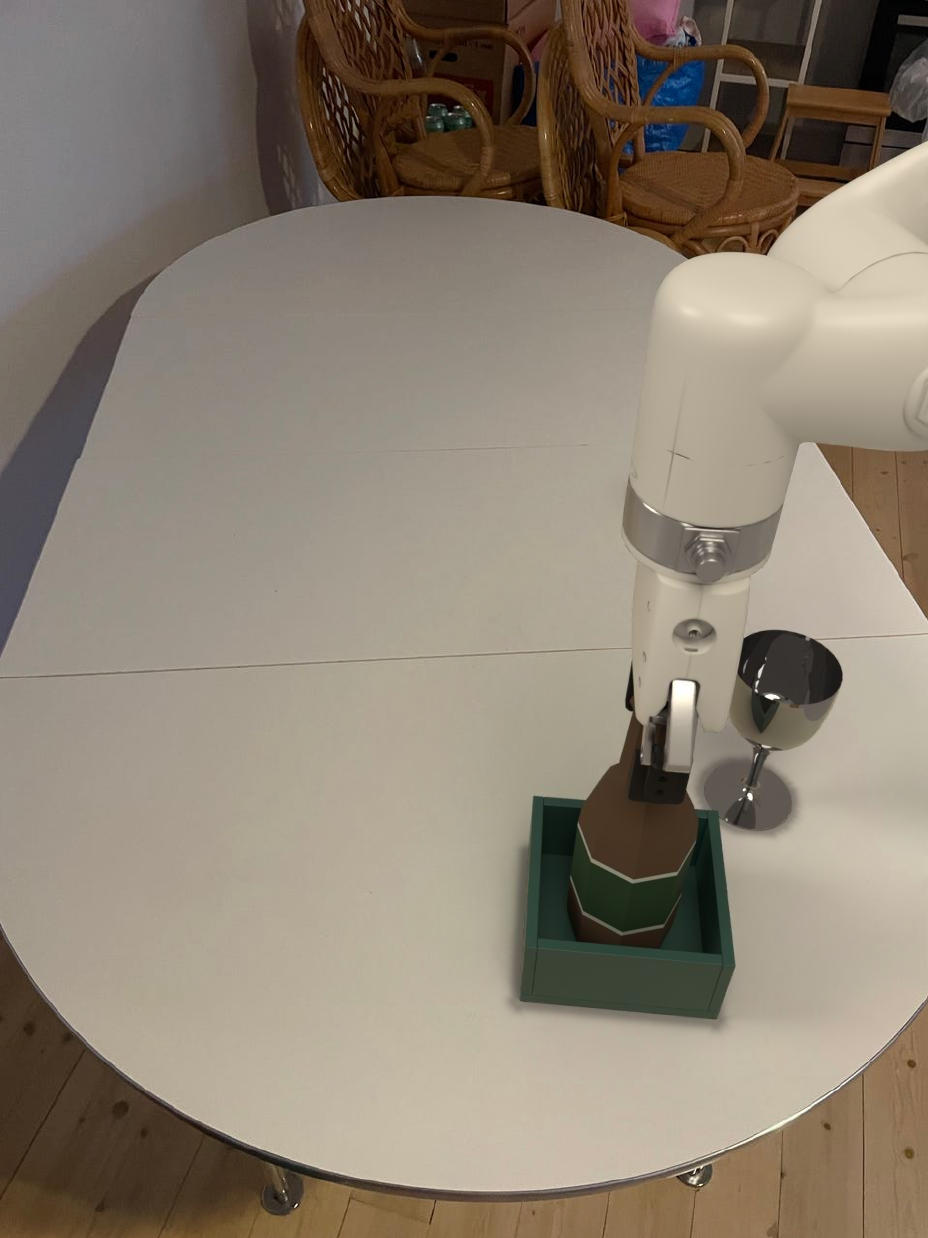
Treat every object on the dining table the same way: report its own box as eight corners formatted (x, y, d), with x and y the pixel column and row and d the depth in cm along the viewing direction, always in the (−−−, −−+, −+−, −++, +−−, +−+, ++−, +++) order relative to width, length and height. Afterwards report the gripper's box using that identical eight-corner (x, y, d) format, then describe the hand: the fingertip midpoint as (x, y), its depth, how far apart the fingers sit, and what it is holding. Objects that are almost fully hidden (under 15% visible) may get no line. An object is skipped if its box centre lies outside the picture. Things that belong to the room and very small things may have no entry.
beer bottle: (673, 885, 79) (732, 656, 63) (670, 979, 73) (734, 753, 57) (570, 869, 80) (602, 639, 64) (559, 961, 74) (591, 733, 58)
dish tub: (702, 866, 81) (718, 810, 76) (716, 1019, 72) (735, 966, 67) (528, 851, 82) (533, 795, 77) (519, 1001, 73) (524, 947, 68)
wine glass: (718, 840, 83) (755, 710, 73) (686, 764, 89) (717, 634, 79) (812, 828, 84) (862, 699, 74) (775, 753, 90) (816, 624, 80)
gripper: (803, 637, 45) (727, 878, 57) (756, 426, 58) (703, 659, 70) (628, 625, 46) (590, 866, 57) (620, 418, 58) (590, 650, 70)
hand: (652, 750), depth 64 cm, fingers open, 6 cm apart
